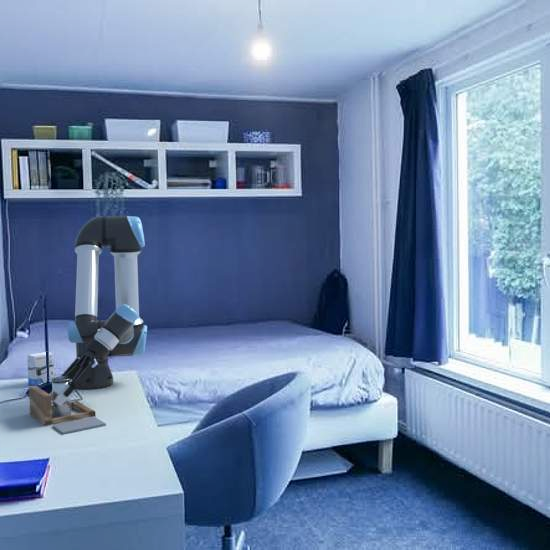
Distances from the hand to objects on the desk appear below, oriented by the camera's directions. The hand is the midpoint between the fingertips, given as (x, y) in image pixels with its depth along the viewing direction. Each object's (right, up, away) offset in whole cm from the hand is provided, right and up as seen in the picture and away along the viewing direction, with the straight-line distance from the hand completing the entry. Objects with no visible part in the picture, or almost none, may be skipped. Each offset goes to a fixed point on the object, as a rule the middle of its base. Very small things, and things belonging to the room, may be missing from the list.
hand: (53, 401), depth 195 cm
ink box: (-21, -2, +45) cm, 49 cm away
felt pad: (+11, -5, -10) cm, 16 cm away
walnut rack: (+2, -5, +2) cm, 6 cm away
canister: (+2, -5, +2) cm, 6 cm away
